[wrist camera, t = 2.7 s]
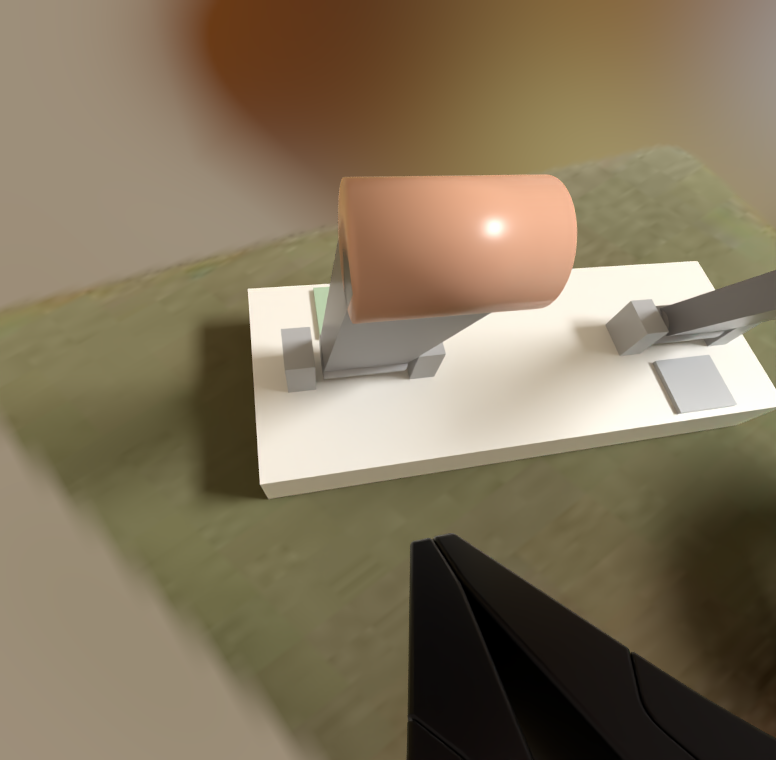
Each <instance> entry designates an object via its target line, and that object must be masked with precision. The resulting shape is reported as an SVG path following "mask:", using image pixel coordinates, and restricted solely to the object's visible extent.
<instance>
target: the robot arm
mask: <svg viewBox="0 0 776 760" xmlns="http://www.w3.org/2000/svg"><path fill="white" fill-rule="evenodd" d="M407 760H776V738H774V737H772V736H770V735H769V734H767V733H765V732H763V731H762V730H760V729H758V728H756V727H755V726H753V725H751V724H749V723H748V722H746V721H744V720H743V719H741V718H739V717H737V716H736V715H734V714H732V713H731V712H729V711H727V710H726V709H724V708H722V707H720V706H719V705H717V704H715V703H714V702H712V701H710V700H708V699H707V698H705V697H703V696H702V695H700V694H699V693H697V692H695V691H694V690H692V689H691V688H689V687H687V686H686V685H684V684H683V683H681V682H680V681H678V680H676V679H675V678H673V677H672V676H670V675H669V674H667V673H665V672H664V671H662V670H661V669H659V668H658V667H656V666H655V665H653V664H652V663H650V662H648V661H647V660H645V659H644V658H642V657H641V656H639V655H638V654H636V653H635V652H631V653H630V651H629V649H628V648H627V647H625V646H624V645H622V644H621V643H619V642H618V641H616V640H615V639H613V638H612V637H610V636H609V635H607V634H606V633H604V632H603V631H601V630H600V629H598V628H597V627H595V626H594V625H592V624H591V623H589V622H588V621H586V620H585V619H583V618H582V617H580V616H579V615H577V614H576V613H574V612H573V611H571V610H569V609H568V608H566V607H565V606H563V605H562V604H560V603H559V602H557V601H556V600H554V599H553V598H551V597H550V596H548V595H547V594H545V593H544V592H542V591H541V590H539V589H538V588H536V587H535V586H533V585H532V584H530V583H529V582H527V581H526V580H524V579H523V578H521V577H520V576H518V575H517V574H515V573H514V572H512V571H510V570H509V569H507V568H506V567H504V566H503V565H501V564H500V563H498V562H497V561H495V560H494V559H492V558H491V557H489V556H488V555H486V554H485V553H483V552H482V551H480V550H479V549H477V548H476V547H474V546H473V545H471V544H470V543H468V542H467V541H465V540H464V539H462V538H461V537H459V536H458V535H456V534H453V533H449V534H444V535H440V536H436V537H434V538H433V539H430V538H426V539H421V540H417V541H413V542H412V543H411V545H410V597H409V663H408V723H407Z"/></svg>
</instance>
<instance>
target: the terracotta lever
mask: <svg viewBox="0 0 776 760" xmlns="http://www.w3.org/2000/svg"><path fill="white" fill-rule="evenodd" d="M338 236H339V238H338V243H337V249H336V254H335V260H334V265H333V271H332V276H331V282H330V287H329V293H328V298H327V304H326V309H325V315H324V320H323V326H322V331H321V335H319V347H320V358H321V366H322V373H323V378H324V379H331V378H340V377H350V376H359V375H368V374H378V373H387V372H397V371H405V370H406V369H407V365H408V363H409V362H411V361H412V360H414V359H416V358H417V357H419V356H421V355H422V354H424V353H426V352H427V351H429V350H430V349H432V348H434V347H435V346H437V345H439V344H440V343H442V342H444V341H445V340H447V339H449V338H450V337H452V336H454V335H455V334H457V333H459V332H460V331H462V330H464V329H465V328H467V327H468V326H470V325H472V324H473V323H475V322H477V321H478V320H480V319H482V318H483V317H485V316H487V315H488V314H490V313H494V312H506V311H518V310H531V309H541V308H544V307H547V306H548V305H550V304H551V303H553V302H554V301H555V300H556V299H557V297H558V296H559V295H560V294H561V292H562V291H563V289H564V287H565V285H566V283H567V281H568V279H569V276H570V274H571V270H572V267H573V264H574V259H575V254H576V245H577V222H576V214H575V209H574V205H573V202H572V199H571V196H570V194H569V192H568V190H567V189H566V187H565V186H564V184H563V183H562V182H561V181H560V180H559V179H557V178H556V177H554V176H551V175H479V176H478V175H473V176H394V177H392V176H391V177H343V178H342V180H341V183H340V189H339V200H338Z"/></svg>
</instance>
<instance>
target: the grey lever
mask: <svg viewBox="0 0 776 760" xmlns="http://www.w3.org/2000/svg"><path fill="white" fill-rule="evenodd" d="M656 308H657V310H658V312H659V314H660V316H661V317H662V319H663V321H664V323H665V325H666V327H667V329H668V331H669V332H668V333H667V334H665V335H664V336H663V337H661V338H660V339H659V340H657V341H656V342H655V343H653V344H659V343H669V342H678V341H688V340H697V339H707V338H715V337H718V336H720V335H721V334H722V333H724V331H725V330H730V329H734V328H738V327H743V326H747V325H752V324H756V323H760V322H765V321H769V320H774V319H776V270H774V271H771V272H768V273H765V274H762V275H759V276H756V277H753V278H750V279H747V280H744V281H741V282H738V283H735V284H732V285H729V286H726V287H723V288H720V289H717V290H714V291H711V292H708V293H705V294H702V295H699V296H696V297H693V298H690V299H687V300H684V301H681V302H678V303H675V304H672V305H661V306H656Z"/></svg>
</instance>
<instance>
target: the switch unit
mask: <svg viewBox="0 0 776 760" xmlns="http://www.w3.org/2000/svg"><path fill="white" fill-rule="evenodd" d="M329 287H330V284H320V285H304V286H288V287H271V288H255V289H248V297H249V314H250V330H251V346H252V363H253V379H254V395H255V412H256V428H257V445H258V461H259V477H260V486H261V487H262V489H263V491H264V492H265V494H266V496H267V497H268V499H272V498H278V497H284V496H291V495H297V494H303V493H310V492H316V491H322V490H329V489H335V488H341V487H348V486H354V485H360V484H367V483H373V482H379V481H386V480H392V479H398V478H405V477H411V476H417V475H424V474H430V473H436V472H443V471H449V470H456V469H462V468H468V467H475V466H481V465H487V464H494V463H500V462H506V461H513V460H519V459H525V458H532V457H538V456H544V455H551V454H557V453H563V452H570V451H576V450H582V449H589V448H595V447H601V446H608V445H614V444H620V443H627V442H633V441H639V440H646V439H652V438H659V437H665V436H671V435H678V434H684V433H690V432H697V431H703V430H709V429H716V428H722V427H728V426H735V425H738V424H741V423H743V422H746V421H748V420H751V419H753V418H756V417H758V416H761V415H763V414H766V413H768V412H771V411H773V410H776V389H775V387H774V386H773V384H772V382H771V381H770V379H769V378H768V376H767V374H766V373H765V371H764V369H763V368H762V366H761V364H760V363H759V361H758V360H757V358H756V356H755V355H754V353H753V351H752V350H751V348H750V346H749V345H748V343H747V342H746V340H745V338H744V337H743V335H742V334H743V333H745V332H747V331H748V330H750V329H752V328H753V327H755V326H757V325H758V324H760V323H761V322H760V323H756V324H752V325H747V326H743V327H738V328H734V329H730V330H725V331H724V333H722V334H721V335H720V336H718V337H715V338H707V339H697V340H688V341H678V342H669V343H659V344H653V343H655V342H656V341H657V340H659V339H660V338H661V337H663V336H664V335H665V334H667V333H668V332H669V331H668V329H667V327H666V325H665V323H664V321H663V319H662V317H661V316H660V314H659V312H658V310H657V308H656V306H661V305H672V304H675V303H678V302H681V301H684V300H687V299H690V298H693V297H696V296H699V295H702V294H705V293H708V292H711V291H714V290H715V289H714V288H713V286H712V284H711V283H710V281H709V279H708V278H707V276H706V274H705V273H704V271H703V270H702V268H701V266H700V265H699V263H698V261H691V262H675V263H659V264H643V265H627V266H611V267H594V268H578V269H572V270H571V274H570V276H569V279H568V281H567V283H566V285H565V287H564V289H563V291H562V292H561V294H560V295H559V296H558V297H557V299H556V300H555V301H554V302H553V303H551V304H550V305H548V306H547V307H544V308H541V309H531V310H518V311H506V312H494V313H490V314H488V315H487V316H485V317H483V318H482V319H480V320H478V321H477V322H475V323H473V324H472V325H470V326H468V327H467V328H465V329H464V330H462V331H460V332H459V333H457V334H455V335H454V336H452V337H450V338H449V339H447V340H445V341H444V342H442V343H440V344H439V345H437V346H435V347H434V348H432V349H430V350H429V351H427V352H426V353H424V354H422V355H421V356H419V357H417V358H416V359H414V360H412V361H411V362H409V363H408V365H407V369H406V370H405V371H397V372H387V373H378V374H368V375H359V376H350V377H340V378H331V379H324V378H323V373H322V366H321V358H320V347H319V335H321V331H322V326H323V320H324V315H325V309H326V304H327V298H328V293H329Z"/></svg>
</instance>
